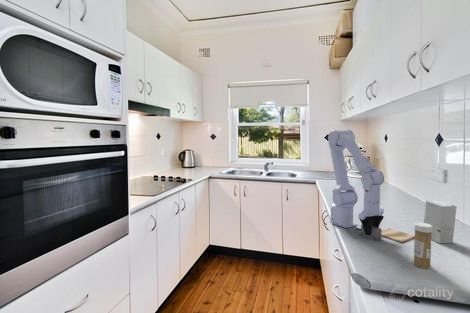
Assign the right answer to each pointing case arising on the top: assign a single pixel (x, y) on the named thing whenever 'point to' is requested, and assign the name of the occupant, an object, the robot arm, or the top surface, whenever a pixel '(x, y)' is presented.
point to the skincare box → (440, 220)
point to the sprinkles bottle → (422, 245)
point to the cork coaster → (396, 235)
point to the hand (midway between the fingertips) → (370, 233)
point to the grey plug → (372, 233)
